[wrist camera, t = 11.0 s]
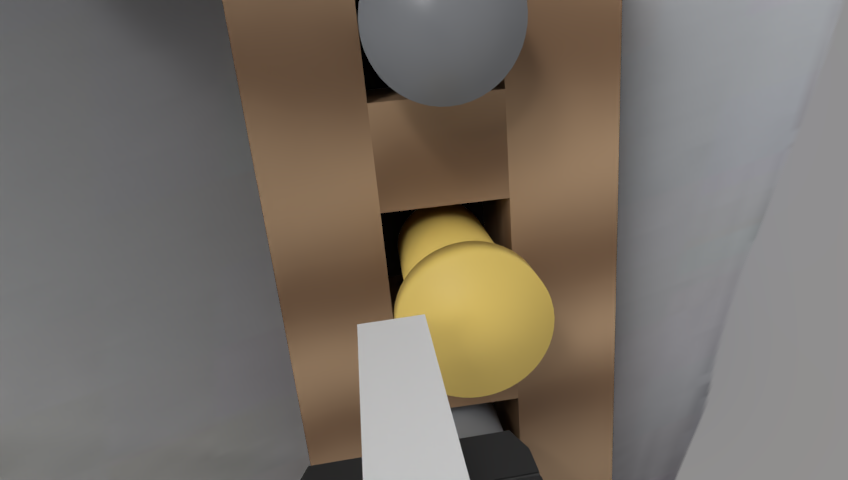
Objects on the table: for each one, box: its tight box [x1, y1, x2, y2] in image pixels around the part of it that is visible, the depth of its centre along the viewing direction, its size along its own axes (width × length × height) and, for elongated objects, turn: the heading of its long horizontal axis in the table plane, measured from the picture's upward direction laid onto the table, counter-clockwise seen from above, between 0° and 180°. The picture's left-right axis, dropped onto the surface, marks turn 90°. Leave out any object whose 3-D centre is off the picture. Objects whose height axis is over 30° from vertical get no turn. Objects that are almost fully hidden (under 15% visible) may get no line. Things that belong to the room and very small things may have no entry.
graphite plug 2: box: [451, 402, 503, 439], centre depth 24 cm, size 4×4×7 cm
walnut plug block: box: [222, 0, 622, 480], centre depth 23 cm, size 24×12×5 cm, turn 5°
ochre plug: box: [394, 204, 555, 398], centre depth 19 cm, size 4×4×7 cm
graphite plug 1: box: [358, 0, 528, 107], centre depth 18 cm, size 4×4×7 cm
